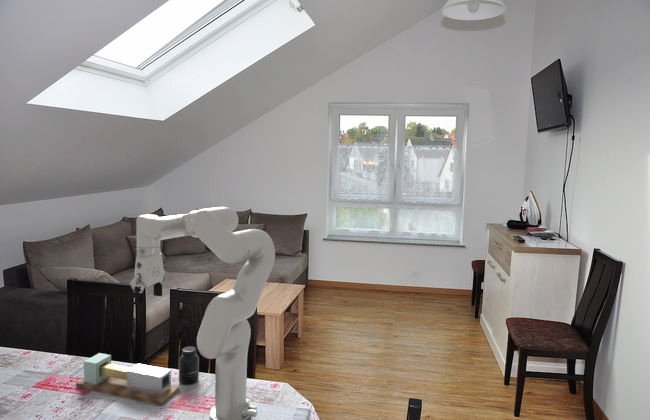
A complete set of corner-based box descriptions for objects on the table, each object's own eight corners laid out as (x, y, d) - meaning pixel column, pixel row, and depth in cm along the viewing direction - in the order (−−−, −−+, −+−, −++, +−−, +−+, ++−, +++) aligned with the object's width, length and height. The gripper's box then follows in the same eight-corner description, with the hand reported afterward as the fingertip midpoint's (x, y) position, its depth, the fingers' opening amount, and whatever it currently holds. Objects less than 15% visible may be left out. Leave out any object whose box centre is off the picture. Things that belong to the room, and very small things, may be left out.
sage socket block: (111, 375, 159) (111, 355, 158) (96, 384, 152) (95, 363, 152) (99, 372, 161) (99, 352, 160) (84, 382, 154) (83, 361, 153)
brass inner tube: (149, 379, 152) (149, 371, 152) (143, 384, 149) (143, 375, 149) (101, 369, 158) (101, 361, 157) (94, 373, 155) (94, 365, 154)
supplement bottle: (192, 386, 156) (193, 354, 155) (175, 384, 158) (175, 351, 156) (202, 377, 163) (202, 346, 162) (185, 375, 164) (185, 343, 163)
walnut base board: (179, 390, 153) (179, 386, 153) (161, 405, 144) (161, 401, 144) (98, 374, 163) (98, 370, 162) (76, 387, 153) (76, 383, 153)
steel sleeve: (170, 388, 152) (170, 369, 151) (160, 396, 146) (160, 377, 146) (138, 382, 155) (138, 363, 154) (127, 389, 150) (126, 370, 149)
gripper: (140, 257, 143) (141, 308, 145) (173, 247, 160) (173, 294, 162) (121, 254, 145) (122, 305, 147) (155, 245, 162) (155, 291, 164)
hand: (148, 299), depth 154 cm, fingers open, 9 cm apart
